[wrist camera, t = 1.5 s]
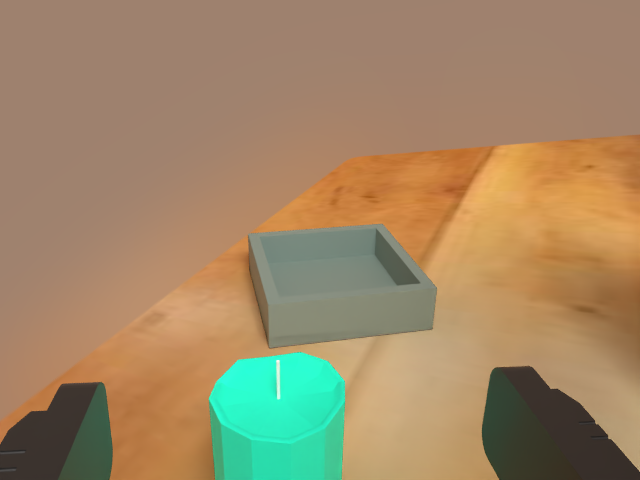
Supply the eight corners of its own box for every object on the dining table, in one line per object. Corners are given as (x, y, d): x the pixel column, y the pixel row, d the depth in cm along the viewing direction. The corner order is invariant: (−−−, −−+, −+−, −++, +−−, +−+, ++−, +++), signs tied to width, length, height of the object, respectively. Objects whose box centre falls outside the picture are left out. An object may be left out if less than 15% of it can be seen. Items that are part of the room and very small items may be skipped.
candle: (352, 521, 31) (362, 335, 26) (320, 630, 26) (325, 423, 21) (250, 493, 33) (242, 313, 28) (200, 590, 27) (179, 390, 22)
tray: (380, 258, 61) (382, 223, 59) (432, 329, 48) (436, 288, 47) (249, 269, 58) (248, 233, 56) (269, 348, 45) (268, 304, 44)
